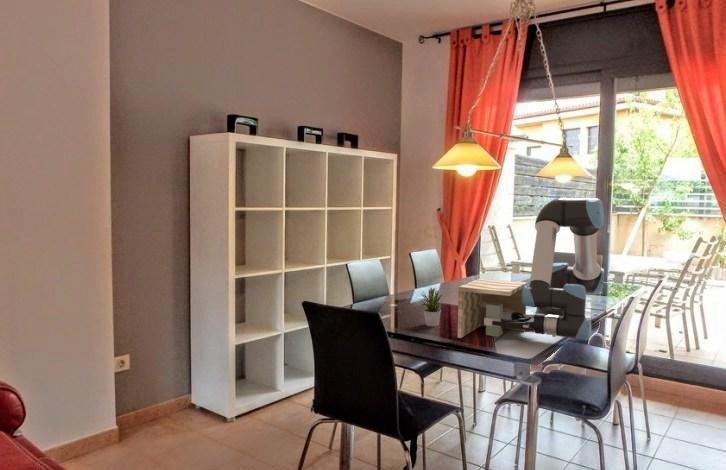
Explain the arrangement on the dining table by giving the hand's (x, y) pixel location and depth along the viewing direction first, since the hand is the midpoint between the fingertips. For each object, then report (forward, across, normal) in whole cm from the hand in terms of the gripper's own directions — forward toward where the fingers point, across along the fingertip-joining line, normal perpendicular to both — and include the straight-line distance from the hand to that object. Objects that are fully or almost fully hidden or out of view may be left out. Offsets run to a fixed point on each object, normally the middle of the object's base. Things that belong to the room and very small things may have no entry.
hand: (489, 317), depth 210 cm
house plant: (+26, +2, -7) cm, 27 cm away
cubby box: (-2, 0, -6) cm, 7 cm away
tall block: (-2, 0, -6) cm, 7 cm away
